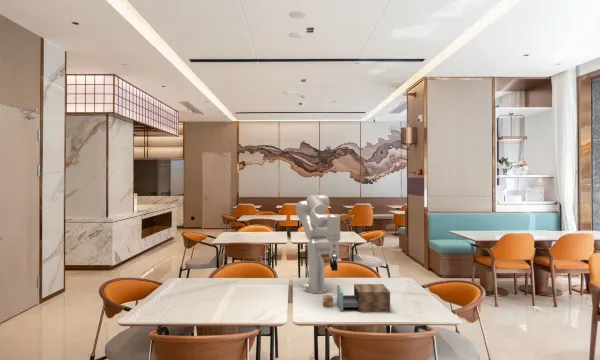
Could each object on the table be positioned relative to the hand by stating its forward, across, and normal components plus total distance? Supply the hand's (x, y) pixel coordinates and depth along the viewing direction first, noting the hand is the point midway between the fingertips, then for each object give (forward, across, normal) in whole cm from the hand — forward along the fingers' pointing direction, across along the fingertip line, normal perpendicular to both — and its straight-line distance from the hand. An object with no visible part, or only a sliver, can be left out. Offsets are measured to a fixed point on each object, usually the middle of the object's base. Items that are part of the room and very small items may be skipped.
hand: (333, 268), depth 223 cm
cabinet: (+19, -6, -19) cm, 28 cm away
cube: (+19, -5, +4) cm, 20 cm away
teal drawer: (+18, -6, -10) cm, 22 cm away
